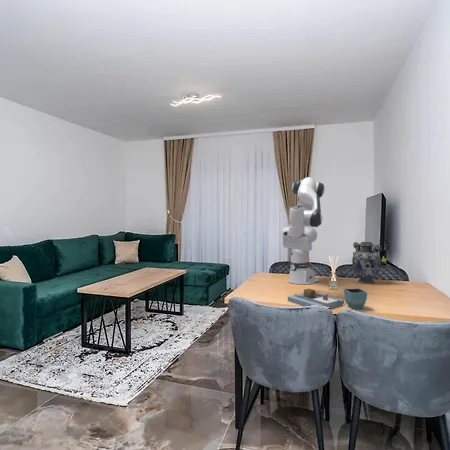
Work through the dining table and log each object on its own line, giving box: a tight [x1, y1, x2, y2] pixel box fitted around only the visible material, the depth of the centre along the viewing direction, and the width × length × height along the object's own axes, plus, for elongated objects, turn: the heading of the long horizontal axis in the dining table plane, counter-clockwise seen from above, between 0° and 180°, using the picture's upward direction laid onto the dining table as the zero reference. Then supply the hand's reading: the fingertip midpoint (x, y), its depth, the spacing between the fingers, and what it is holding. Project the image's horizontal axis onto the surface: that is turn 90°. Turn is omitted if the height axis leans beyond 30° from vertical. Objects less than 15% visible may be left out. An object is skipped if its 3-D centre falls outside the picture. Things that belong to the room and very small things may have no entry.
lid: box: [313, 293, 338, 304], centre depth 173 cm, size 9×9×3 cm
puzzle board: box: [287, 292, 345, 309], centre depth 179 cm, size 20×22×3 cm
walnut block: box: [303, 288, 317, 299], centre depth 182 cm, size 4×4×6 cm
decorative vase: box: [351, 241, 382, 285], centre depth 229 cm, size 21×19×28 cm
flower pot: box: [343, 288, 368, 309], centre depth 171 cm, size 9×9×9 cm
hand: (297, 256), depth 191 cm, fingers open, 8 cm apart
